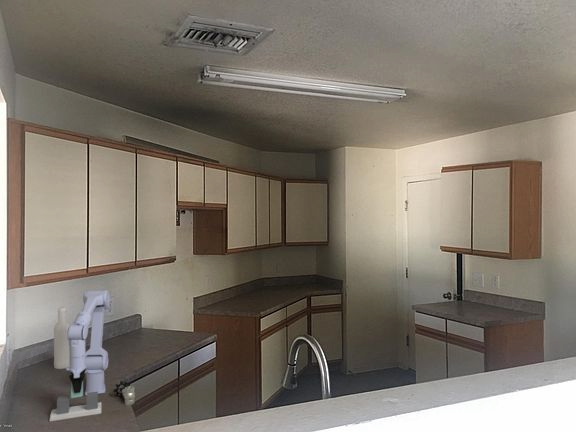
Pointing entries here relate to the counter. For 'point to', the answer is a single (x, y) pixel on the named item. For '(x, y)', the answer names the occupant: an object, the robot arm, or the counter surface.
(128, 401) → the valve
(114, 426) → the counter surface
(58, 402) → the rail plate
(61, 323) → the bottle
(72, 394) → the block
